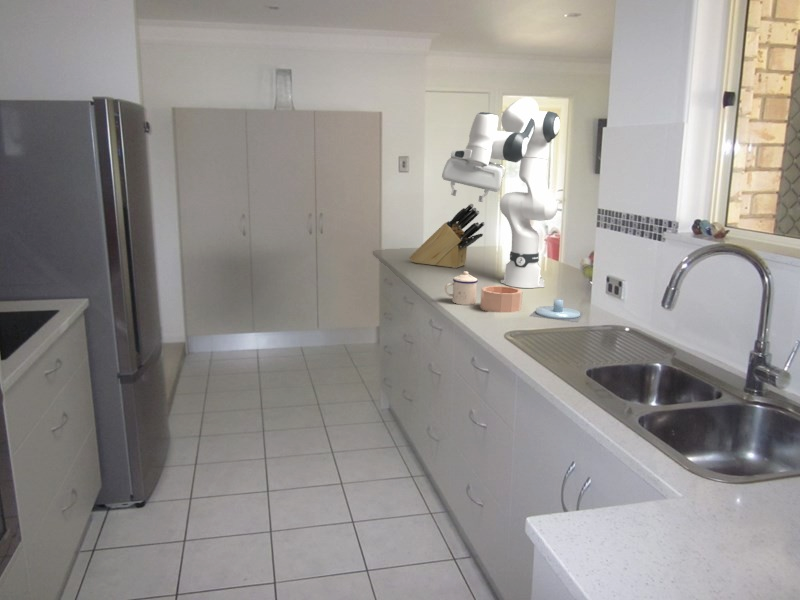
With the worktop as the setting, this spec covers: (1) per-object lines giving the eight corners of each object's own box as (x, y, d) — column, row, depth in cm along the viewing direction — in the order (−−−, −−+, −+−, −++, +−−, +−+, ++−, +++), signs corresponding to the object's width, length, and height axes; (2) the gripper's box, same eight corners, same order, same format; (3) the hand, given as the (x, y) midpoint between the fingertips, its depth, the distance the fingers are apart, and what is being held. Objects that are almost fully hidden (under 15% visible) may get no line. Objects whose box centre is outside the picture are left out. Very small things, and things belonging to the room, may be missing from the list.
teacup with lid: (473, 299, 245) (475, 269, 243) (478, 305, 237) (480, 274, 234) (442, 299, 244) (443, 269, 241) (446, 305, 235) (448, 273, 233)
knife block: (474, 271, 306) (478, 205, 299) (409, 263, 323) (411, 200, 316) (483, 268, 316) (487, 204, 309) (419, 260, 332) (421, 199, 326)
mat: (539, 308, 235) (539, 306, 235) (584, 313, 229) (584, 312, 229) (529, 317, 221) (529, 315, 221) (576, 323, 215) (577, 322, 215)
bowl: (487, 302, 241) (488, 284, 240) (524, 307, 236) (526, 288, 234) (475, 310, 229) (477, 291, 227) (514, 315, 223) (516, 295, 222)
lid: (540, 306, 235) (541, 293, 234) (582, 312, 229) (584, 298, 228) (531, 315, 221) (532, 301, 220) (575, 321, 215) (577, 307, 214)
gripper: (505, 167, 222) (496, 206, 222) (448, 154, 224) (438, 193, 224) (507, 163, 216) (497, 203, 216) (447, 150, 218) (437, 189, 218)
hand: (466, 198), depth 220 cm, fingers open, 8 cm apart
